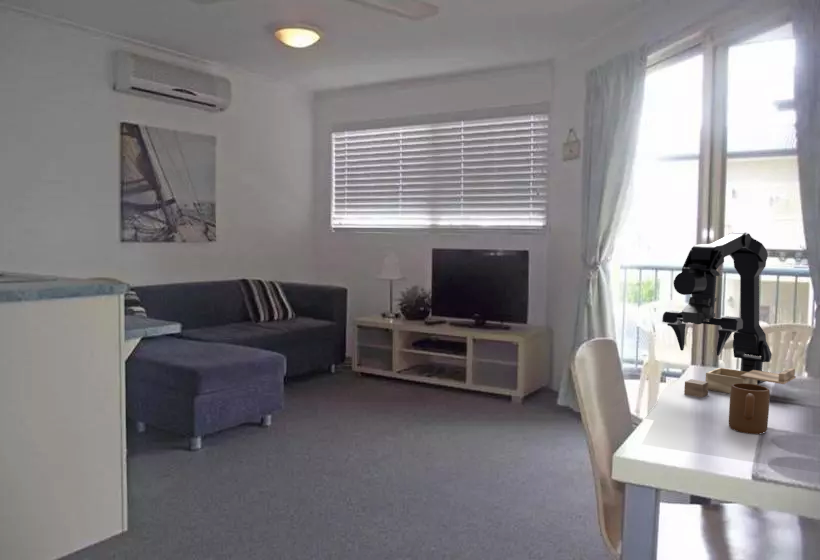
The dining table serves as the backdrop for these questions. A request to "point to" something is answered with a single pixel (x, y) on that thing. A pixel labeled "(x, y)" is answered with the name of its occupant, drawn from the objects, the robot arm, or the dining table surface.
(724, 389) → the wooden box
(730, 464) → the dining table surface
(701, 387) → the block
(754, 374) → the lid
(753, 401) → the mug
